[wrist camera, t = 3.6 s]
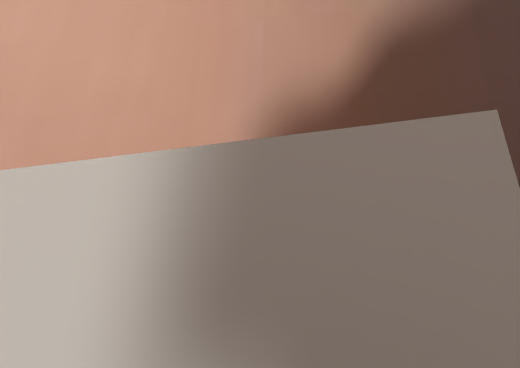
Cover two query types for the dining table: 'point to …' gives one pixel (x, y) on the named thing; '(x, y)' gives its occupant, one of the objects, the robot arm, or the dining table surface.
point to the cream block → (270, 253)
